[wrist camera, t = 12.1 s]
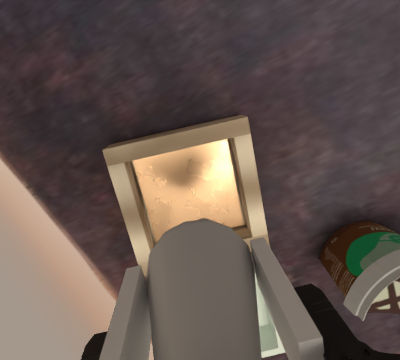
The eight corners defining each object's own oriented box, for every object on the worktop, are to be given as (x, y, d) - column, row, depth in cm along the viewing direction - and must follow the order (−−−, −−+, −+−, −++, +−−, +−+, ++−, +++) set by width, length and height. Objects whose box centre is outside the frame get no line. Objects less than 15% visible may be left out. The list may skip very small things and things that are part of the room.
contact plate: (133, 158, 29) (132, 159, 28) (226, 137, 29) (227, 137, 28) (157, 242, 31) (156, 245, 31) (242, 223, 32) (243, 224, 31)
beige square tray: (111, 144, 29) (102, 149, 26) (239, 114, 29) (247, 116, 26) (145, 258, 32) (142, 276, 29) (260, 231, 33) (269, 247, 29)
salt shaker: (243, 201, 18) (401, 465, 5) (245, 284, 19) (367, 637, 7) (145, 209, 17) (55, 508, 5) (155, 292, 19) (107, 676, 6)
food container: (420, 214, 33) (518, 261, 24) (406, 262, 35) (492, 324, 25) (316, 208, 32) (374, 254, 23) (306, 258, 34) (356, 321, 24)
